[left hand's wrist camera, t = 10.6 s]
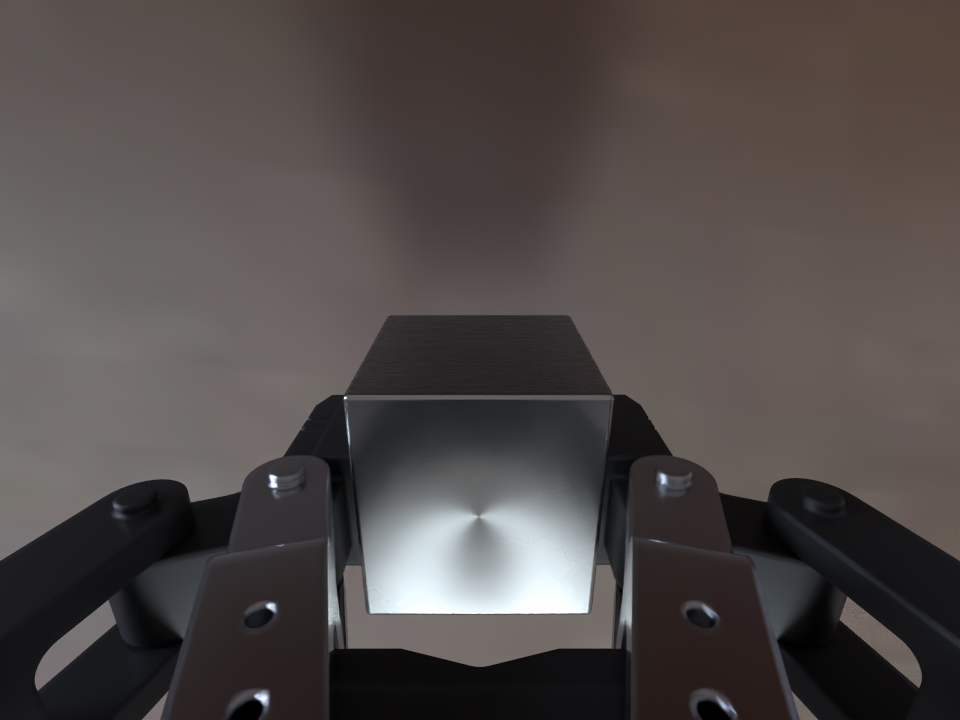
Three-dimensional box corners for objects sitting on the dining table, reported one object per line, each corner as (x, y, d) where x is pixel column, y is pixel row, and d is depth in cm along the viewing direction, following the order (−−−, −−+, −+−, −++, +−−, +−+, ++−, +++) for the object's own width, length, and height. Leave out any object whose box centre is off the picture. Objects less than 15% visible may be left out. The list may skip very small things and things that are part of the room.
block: (398, 480, 13) (365, 616, 9) (387, 314, 12) (340, 395, 8) (559, 480, 13) (592, 616, 9) (570, 314, 12) (616, 395, 8)
